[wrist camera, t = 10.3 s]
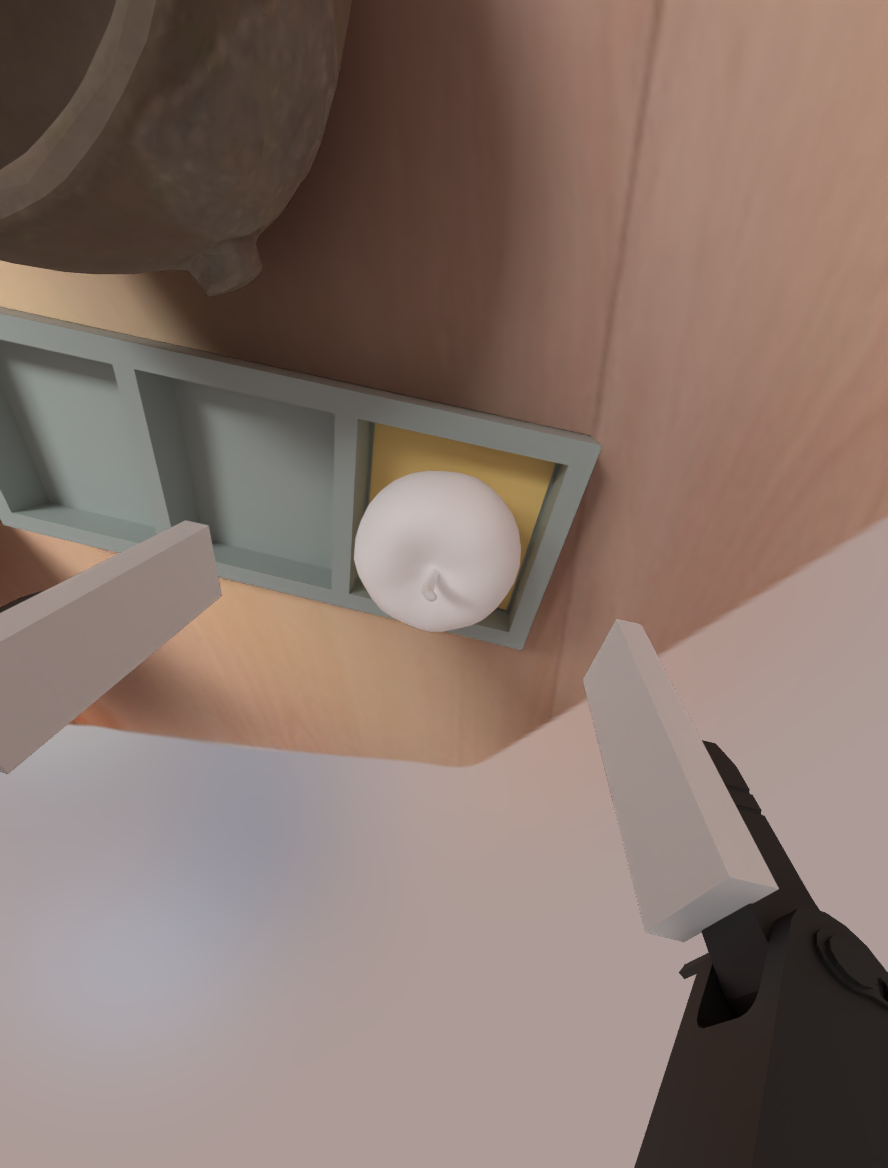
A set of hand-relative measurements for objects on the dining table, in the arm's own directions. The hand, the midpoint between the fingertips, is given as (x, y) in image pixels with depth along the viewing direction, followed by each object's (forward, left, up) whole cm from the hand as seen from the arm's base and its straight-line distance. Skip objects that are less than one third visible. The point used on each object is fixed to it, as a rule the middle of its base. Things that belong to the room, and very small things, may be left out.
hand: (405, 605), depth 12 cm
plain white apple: (0, 0, -8) cm, 8 cm away
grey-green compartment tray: (0, -10, -9) cm, 13 cm away
